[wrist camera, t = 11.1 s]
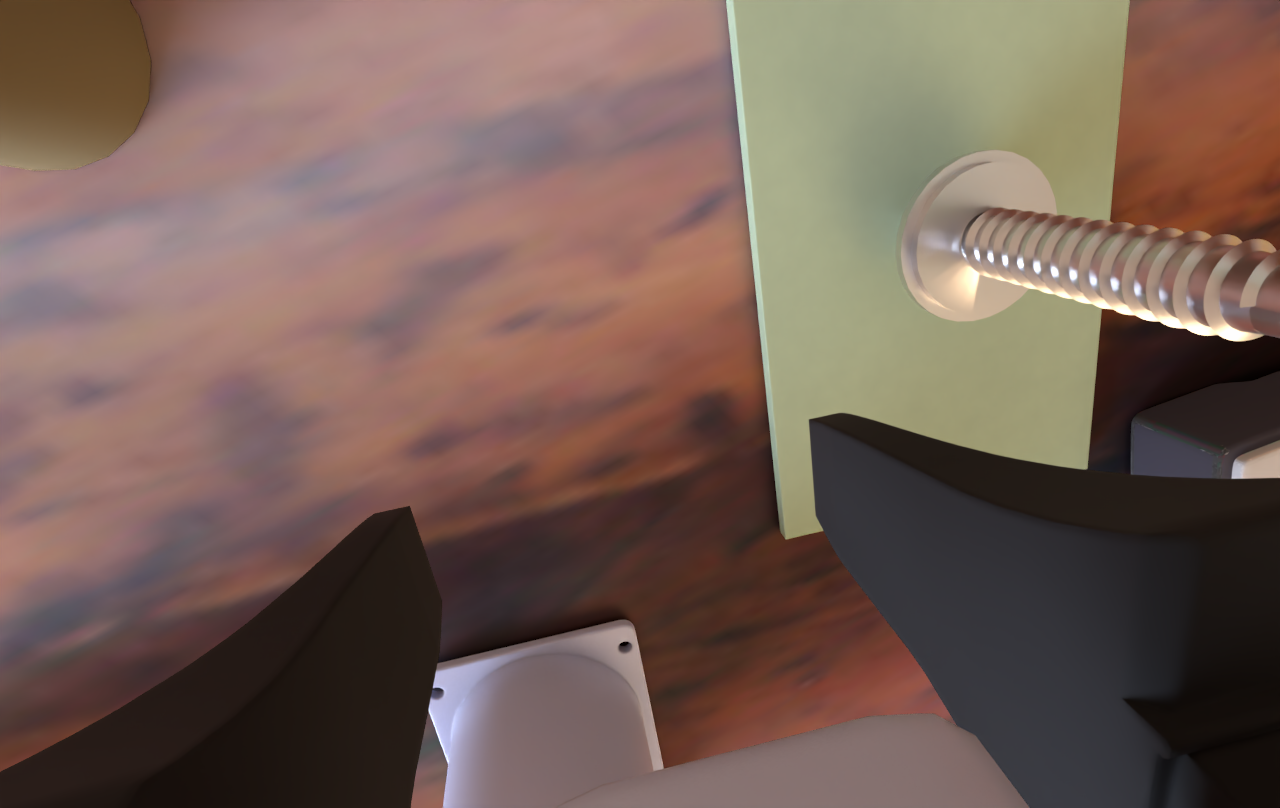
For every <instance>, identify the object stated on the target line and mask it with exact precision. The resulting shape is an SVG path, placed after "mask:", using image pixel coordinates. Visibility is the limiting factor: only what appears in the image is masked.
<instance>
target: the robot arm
mask: <svg viewBox="0 0 1280 808" xmlns="http://www.w3.org/2000/svg"><path fill="white" fill-rule="evenodd" d="M809 431H810V445H811V458H812V472H813V486H814V500H815V514H816V517H817V519H818V521H819V523H820V525H821V527H822V529H823V531H824V532H825V534H826V536H827V538H828V540H829V542H830V543H831V545H832V547H833V549H834V550H835V552H836V554H837V556H838V557H839V559H840V560H841V562H842V563H843V564H844V566H845V567H846V568H847V570H848V571H849V572H850V574H851V575H852V576H853V578H854V579H855V580H856V582H857V583H858V584H859V586H860V587H861V588H862V590H863V591H864V592H865V593H866V595H867V596H868V597H869V599H870V600H871V601H872V603H873V604H874V605H875V606H876V608H877V609H878V610H879V612H880V613H881V614H882V616H883V617H884V618H885V619H886V621H887V622H888V623H889V625H890V626H891V627H892V629H893V630H894V631H895V632H896V634H897V635H898V636H899V638H900V639H901V640H902V642H903V643H904V644H905V645H906V647H907V648H908V649H909V651H910V652H911V654H912V655H913V656H914V658H915V659H916V661H917V662H918V664H919V665H920V666H921V668H922V669H923V671H924V672H925V674H926V675H927V677H928V679H929V680H930V682H931V684H932V685H933V687H934V689H935V690H936V692H937V693H938V695H939V697H940V698H941V700H942V702H943V703H944V705H945V707H946V708H947V710H948V712H949V713H950V715H951V716H952V718H953V720H954V721H955V723H956V725H957V726H956V725H954V724H953V723H951V722H949V721H947V720H945V719H943V718H941V717H939V716H937V715H936V714H923V713H921V714H900V715H880V716H867V717H863V718H859V719H855V720H851V721H848V722H844V723H840V724H836V725H832V726H828V727H824V728H820V729H816V730H813V731H809V732H805V733H801V734H797V735H793V736H789V737H785V738H781V739H777V740H774V741H770V742H766V743H762V744H758V745H754V746H750V747H746V748H742V749H738V750H735V751H731V752H727V753H723V754H719V755H715V756H711V757H707V758H703V759H699V760H696V761H692V762H688V763H684V764H680V765H676V766H672V767H668V768H664V766H663V762H662V757H661V752H660V747H659V742H658V738H657V733H656V728H655V723H654V718H653V713H652V709H651V704H650V699H649V694H648V689H647V685H646V680H645V675H644V670H643V665H642V660H641V656H640V651H639V646H638V641H637V636H636V632H635V627H634V625H633V623H631V622H630V621H628V620H617V621H613V622H608V623H604V624H600V625H596V626H592V627H588V628H583V629H579V630H575V631H571V632H567V633H562V634H558V635H554V636H550V637H546V638H542V639H537V640H533V641H529V642H525V643H521V644H517V645H512V646H508V647H504V648H500V649H496V650H492V651H487V652H483V653H479V654H475V655H471V656H467V657H462V658H458V659H454V660H450V661H446V662H442V663H438V658H439V653H440V638H441V617H442V600H441V597H440V594H439V591H438V588H437V585H436V582H435V579H434V576H433V573H432V570H431V567H430V564H429V561H428V558H427V556H426V553H425V550H424V547H423V544H422V541H421V538H420V535H419V532H418V529H417V526H416V523H415V520H414V517H413V514H412V511H411V508H410V506H408V507H403V508H398V509H394V510H389V511H385V512H380V513H375V514H373V515H372V516H370V517H369V518H368V519H366V520H365V521H364V522H362V523H361V524H360V525H359V526H358V527H357V528H355V529H354V530H353V531H352V532H351V533H350V534H349V535H348V536H347V537H345V538H344V539H343V540H342V541H341V542H340V543H339V544H338V545H337V546H336V547H335V548H333V549H332V550H331V551H330V552H329V553H328V554H327V555H326V556H325V557H324V558H322V559H321V560H320V561H319V562H318V563H317V564H316V565H315V566H314V567H313V568H311V569H310V570H309V571H308V572H307V573H306V574H305V575H304V576H303V577H302V578H300V579H299V580H298V581H297V582H296V583H295V584H293V585H292V586H291V587H290V588H289V589H287V590H286V591H285V592H284V593H283V594H282V595H280V596H279V597H278V598H277V599H276V600H274V601H273V602H272V603H271V604H270V605H268V606H267V607H266V608H265V609H264V610H263V611H261V612H260V613H259V614H258V615H257V616H255V617H254V618H253V619H252V620H250V621H249V622H248V623H247V624H245V625H244V626H243V627H241V628H240V629H239V630H237V631H236V632H235V633H233V634H232V635H231V636H229V637H228V638H227V639H225V640H224V641H223V642H221V643H220V644H218V645H217V646H216V647H214V648H213V649H211V650H210V651H209V652H207V653H206V654H204V655H203V656H201V657H200V658H199V659H197V660H196V661H194V662H193V663H191V664H190V665H188V666H187V667H185V668H184V669H182V670H181V671H179V672H178V673H176V674H174V675H173V676H171V677H170V678H168V679H166V680H165V681H163V682H161V683H160V684H158V685H157V686H155V687H153V688H152V689H150V690H149V691H147V692H145V693H144V694H142V695H141V696H139V697H137V698H136V699H134V700H132V701H131V702H129V703H128V704H126V705H124V706H123V707H121V708H120V709H118V710H116V711H114V712H113V713H111V714H109V715H107V716H106V717H104V718H102V719H100V720H98V721H97V722H95V723H93V724H91V725H89V726H88V727H86V728H84V729H82V730H80V731H79V732H77V733H75V734H73V735H71V736H69V737H68V738H66V739H64V740H62V741H60V742H58V743H56V744H54V745H52V746H50V747H48V748H47V749H45V750H43V751H41V752H39V753H37V754H35V755H33V756H31V757H29V758H27V759H25V760H23V761H21V762H19V763H17V764H15V765H13V766H11V767H9V768H7V769H5V770H3V771H1V772H0V808H411V800H412V793H413V787H414V780H415V774H416V769H417V764H418V759H419V754H420V749H421V744H422V739H423V734H424V729H425V724H426V719H427V714H428V710H429V713H430V716H431V718H432V721H433V724H434V727H435V729H436V732H437V735H438V737H439V740H440V743H441V746H442V748H443V751H444V754H445V756H446V759H447V762H448V771H447V779H446V787H445V795H444V803H443V808H1280V478H1245V479H1218V478H1187V477H1163V476H1147V475H1132V474H1122V473H1112V472H1102V471H1092V470H1083V469H1076V468H1068V467H1061V466H1054V465H1049V464H1043V463H1037V462H1031V461H1026V460H1020V459H1014V458H1010V457H1005V456H1000V455H996V454H991V453H987V452H983V451H979V450H975V449H971V448H967V447H963V446H959V445H956V444H952V443H948V442H945V441H941V440H938V439H934V438H931V437H927V436H924V435H921V434H917V433H914V432H911V431H908V430H904V429H901V428H898V427H895V426H891V425H888V424H885V423H882V422H878V421H875V420H872V419H868V418H865V417H861V416H857V415H853V414H848V413H836V414H831V415H827V416H822V417H818V418H813V419H809ZM622 642H629V644H628V645H626V646H620V645H619V644H620V643H622ZM438 687H439V688H441V689H443V690H441V691H435V690H433V688H438Z"/></svg>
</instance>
